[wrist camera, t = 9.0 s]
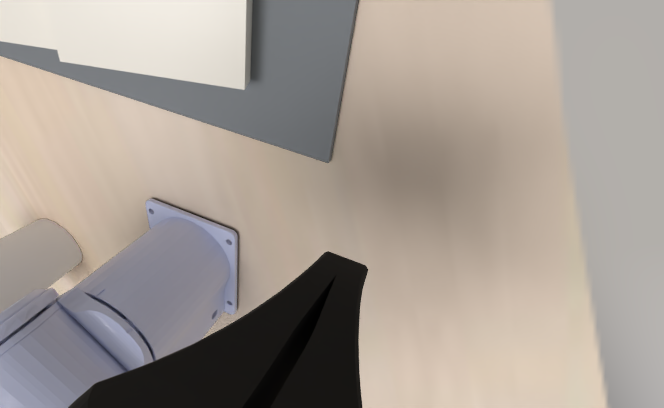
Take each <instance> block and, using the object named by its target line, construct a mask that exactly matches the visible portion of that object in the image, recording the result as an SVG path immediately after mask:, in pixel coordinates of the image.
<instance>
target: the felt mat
mask: <svg viewBox="0 0 664 408" xmlns="http://www.w3.org/2000/svg"><path fill="white" fill-rule="evenodd" d="M358 1H359V0H253V4H252V38H251V72H250V81H249V83H248V85H247V87H246V88H245V90H242V89H235V88H229V87H222V86H216V85H209V84H203V83H196V82H190V81H183V80H177V79H170V78H164V77H157V76H151V75H144V74H138V73H131V72H125V71H119V70H112V69H106V68H99V67H93V66H86V65H80V64H73V63H67V62H60V59H59V55H58V51H57V50H54V49H48V48H41V47H35V46H28V45H22V44H15V43H9V42H2V41H0V56H2V57H6V58H9V59H12V60H15V61H18V62H21V63H24V64H27V65H30V66H33V67H36V68H39V69H42V70H45V71H48V72H51V73H54V74H57V75H61V76H64V77H67V78H70V79H73V80H76V81H79V82H82V83H85V84H88V85H91V86H94V87H97V88H100V89H103V90H106V91H109V92H112V93H116V94H119V95H122V96H125V97H128V98H131V99H134V100H137V101H140V102H143V103H146V104H149V105H152V106H155V107H158V108H161V109H164V110H167V111H171V112H174V113H177V114H180V115H183V116H186V117H189V118H192V119H195V120H198V121H201V122H204V123H207V124H210V125H213V126H216V127H219V128H222V129H226V130H229V131H232V132H235V133H238V134H241V135H244V136H247V137H250V138H253V139H256V140H259V141H262V142H265V143H268V144H271V145H274V146H278V147H281V148H284V149H287V150H290V151H293V152H296V153H299V154H302V155H305V156H308V157H311V158H314V159H317V160H320V161H323V162H326V163H329V162H330V161H331V156H332V151H333V145H334V139H335V133H336V128H337V122H338V116H339V110H340V105H341V99H342V93H343V87H344V82H345V76H346V70H347V64H348V59H349V53H350V47H351V41H352V36H353V30H354V24H355V18H356V13H357V7H358Z"/></svg>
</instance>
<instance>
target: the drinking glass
mask: <svg viewBox="0 0 664 408" xmlns="http://www.w3.org/2000/svg"><path fill="white" fill-rule="evenodd" d="M81 261H82V253H81V250H80V248H79V246H78V244H77V243H76V241H75V240H74V239H73V237H72V236H71V235H70V234H69V233H68V232H67V231H66V230H65V229H64V228H63V227H61V226H60V225H58V224H57V223H55V222H54V221H51V220H48V219H39V220H37V221H35V222H33V223H31V224H29V225H27V226H25V227H23V228H21V229H19V230H17V231H15V232H13V233H11V234H9V235H7V236H5V237H3V238H1V239H0V313H1V312H2V311H4V310H5V309H7V308H8V307H10V306H11V305H12V304H14V303H15V302H17V301H18V300H20V299H21V298H23V297H24V296H26V295H27V294H29V293H30V292H32V291H33V290H35V289H47V288H48V287H50V286H51V285H52V284H54V283H55V282H56V281H57V280H59V279H60V278H61V277H63V276H64V275H65V274H66V273H68V272H69V271H70V270H71V269H73V268H74V267H75V266H77V265H78V264H79V263H80V262H81Z"/></svg>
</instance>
